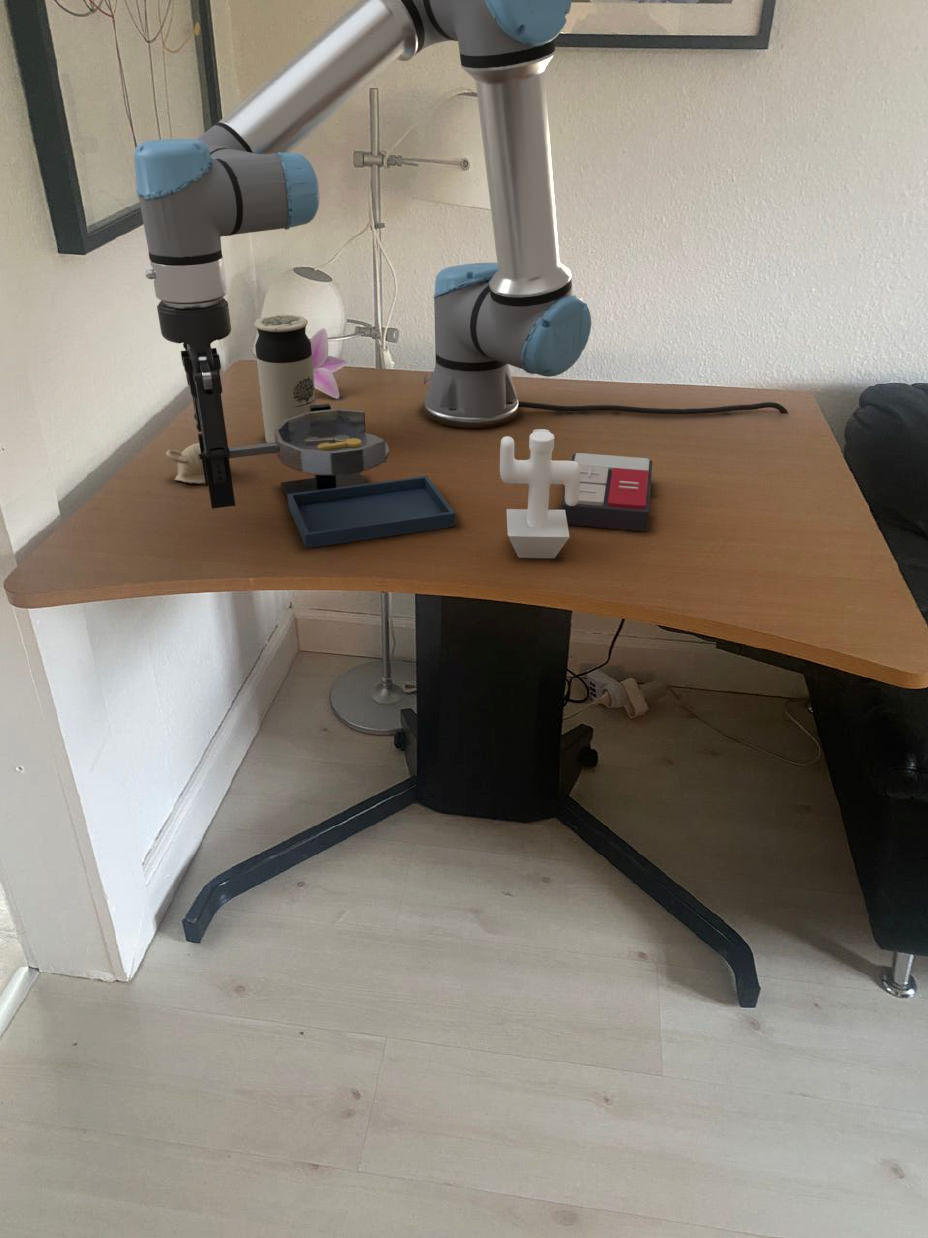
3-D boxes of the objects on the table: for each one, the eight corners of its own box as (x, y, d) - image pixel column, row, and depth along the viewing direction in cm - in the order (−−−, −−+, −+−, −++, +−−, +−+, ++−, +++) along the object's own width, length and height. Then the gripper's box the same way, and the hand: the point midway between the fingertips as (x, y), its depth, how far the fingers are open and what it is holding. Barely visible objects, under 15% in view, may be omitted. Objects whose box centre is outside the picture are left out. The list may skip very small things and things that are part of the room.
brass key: (358, 440, 120) (358, 437, 120) (363, 445, 119) (363, 442, 119) (315, 446, 118) (315, 443, 118) (319, 452, 117) (319, 449, 117)
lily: (263, 403, 162) (267, 362, 154) (283, 357, 169) (289, 315, 161) (330, 426, 164) (339, 386, 156) (349, 379, 170) (357, 339, 162)
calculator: (561, 498, 120) (573, 447, 132) (559, 528, 123) (571, 475, 135) (649, 506, 119) (653, 454, 131) (646, 536, 121) (649, 482, 133)
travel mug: (256, 438, 146) (242, 319, 137) (301, 426, 150) (291, 310, 141) (282, 454, 141) (269, 332, 131) (328, 441, 145) (319, 322, 136)
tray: (427, 488, 131) (427, 475, 130) (455, 526, 122) (455, 513, 121) (288, 506, 126) (287, 493, 125) (306, 548, 116) (304, 534, 115)
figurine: (576, 564, 114) (586, 446, 106) (497, 563, 114) (501, 444, 106) (571, 536, 120) (580, 422, 112) (496, 535, 120) (500, 421, 112)
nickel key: (349, 436, 121) (348, 433, 121) (350, 442, 120) (350, 439, 119) (304, 439, 120) (304, 436, 120) (305, 445, 119) (305, 442, 118)
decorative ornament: (232, 476, 134) (227, 440, 132) (176, 491, 130) (170, 455, 127) (218, 467, 137) (213, 431, 134) (163, 482, 133) (157, 445, 130)
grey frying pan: (372, 426, 126) (371, 403, 124) (402, 468, 114) (401, 444, 112) (201, 445, 120) (198, 421, 118) (215, 493, 108) (211, 467, 106)
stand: (359, 478, 134) (355, 392, 127) (368, 492, 130) (364, 404, 123) (281, 488, 131) (272, 400, 124) (288, 503, 127) (278, 413, 120)
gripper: (150, 281, 110) (181, 467, 122) (162, 325, 95) (196, 533, 107) (217, 277, 112) (240, 460, 124) (238, 319, 97) (263, 523, 109)
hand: (219, 493), depth 116 cm, fingers closed on grey frying pan, 6 cm apart
